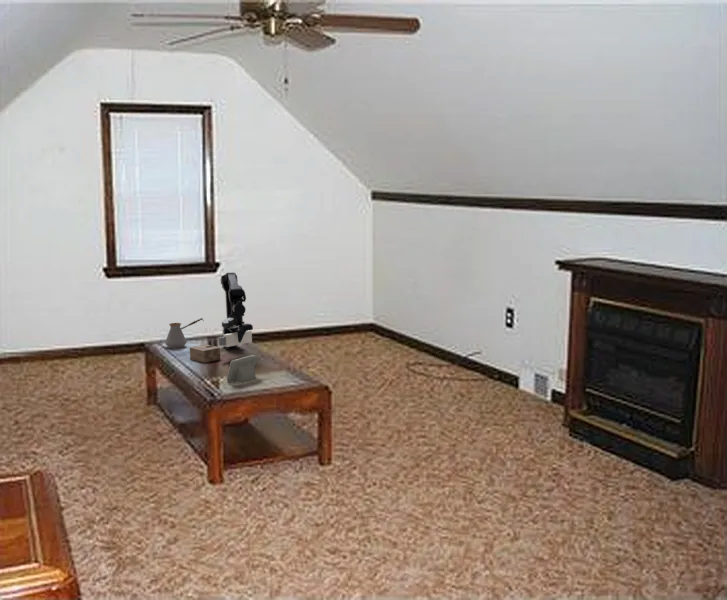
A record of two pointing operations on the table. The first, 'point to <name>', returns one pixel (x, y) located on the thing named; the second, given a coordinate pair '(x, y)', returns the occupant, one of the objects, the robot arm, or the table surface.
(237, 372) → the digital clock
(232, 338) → the white curved bar
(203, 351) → the tan notched block
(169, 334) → the coffee pot
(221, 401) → the table surface
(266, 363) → the table surface
